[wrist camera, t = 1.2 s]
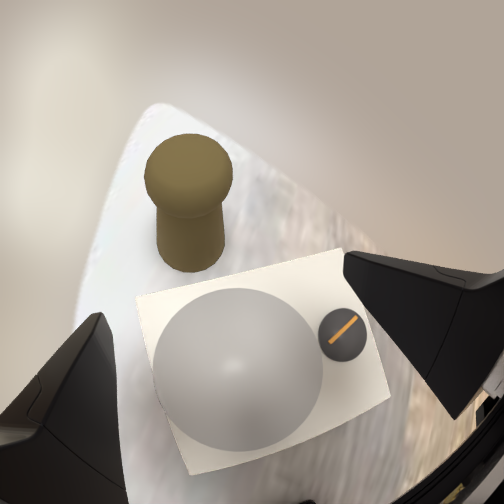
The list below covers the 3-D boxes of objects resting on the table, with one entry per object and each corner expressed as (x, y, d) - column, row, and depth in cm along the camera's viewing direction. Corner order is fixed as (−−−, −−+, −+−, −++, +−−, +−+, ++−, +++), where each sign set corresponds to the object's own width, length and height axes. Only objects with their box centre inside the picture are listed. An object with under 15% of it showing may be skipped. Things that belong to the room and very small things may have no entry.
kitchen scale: (364, 393, 21) (396, 396, 17) (191, 457, 17) (189, 480, 13) (321, 263, 25) (345, 243, 21) (145, 307, 21) (131, 294, 17)
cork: (193, 198, 25) (195, 106, 15) (239, 241, 25) (267, 160, 15) (143, 238, 23) (112, 155, 13) (188, 287, 22) (180, 226, 12)
